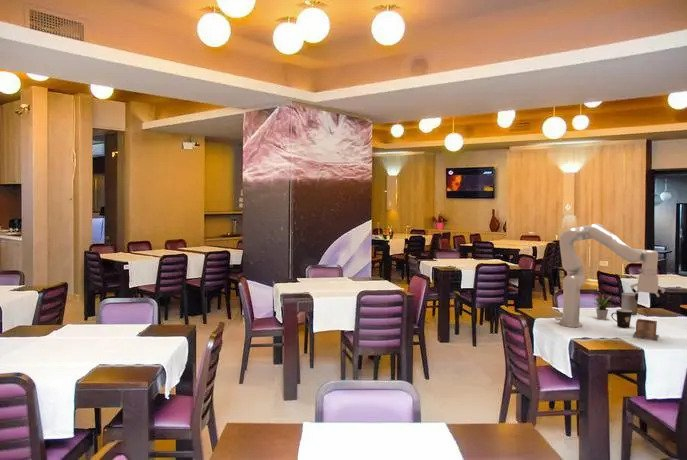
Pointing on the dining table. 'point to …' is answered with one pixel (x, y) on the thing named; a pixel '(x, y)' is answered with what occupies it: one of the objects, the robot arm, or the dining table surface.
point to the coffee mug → (623, 318)
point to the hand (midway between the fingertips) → (646, 302)
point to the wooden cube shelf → (646, 329)
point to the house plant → (602, 307)
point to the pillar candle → (629, 302)
